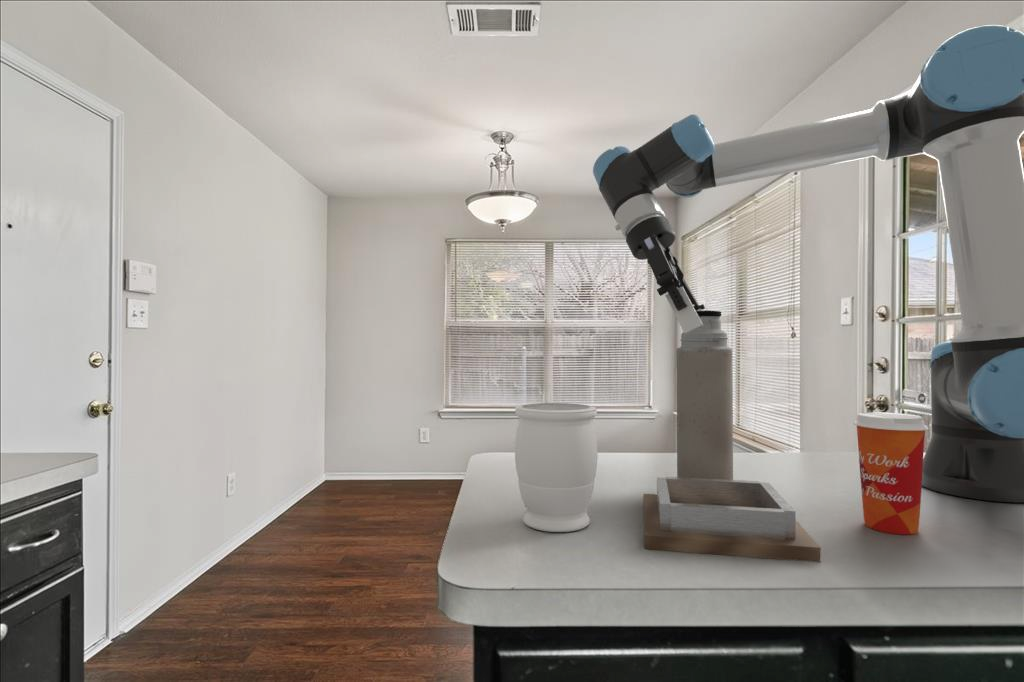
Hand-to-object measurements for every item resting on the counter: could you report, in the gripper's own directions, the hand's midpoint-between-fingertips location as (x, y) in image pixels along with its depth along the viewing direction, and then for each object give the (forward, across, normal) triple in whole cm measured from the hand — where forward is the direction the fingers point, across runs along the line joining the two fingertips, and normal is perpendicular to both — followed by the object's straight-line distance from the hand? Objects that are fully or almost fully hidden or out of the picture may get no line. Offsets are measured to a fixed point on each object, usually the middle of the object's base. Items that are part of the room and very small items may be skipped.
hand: (703, 338), depth 85 cm
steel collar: (+24, +11, -7) cm, 27 cm away
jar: (+18, +18, -25) cm, 36 cm away
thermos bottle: (+21, -3, -11) cm, 24 cm away
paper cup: (+32, 0, +9) cm, 34 cm away
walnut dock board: (+25, +11, -8) cm, 29 cm away
